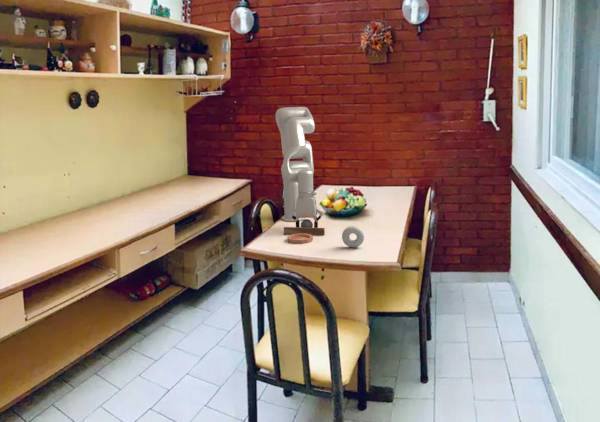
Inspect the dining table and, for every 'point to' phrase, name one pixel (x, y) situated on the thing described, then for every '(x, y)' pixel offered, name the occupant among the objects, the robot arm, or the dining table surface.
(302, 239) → the bowl
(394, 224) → the dining table surface
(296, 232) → the wall
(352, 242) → the donut
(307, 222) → the ball
